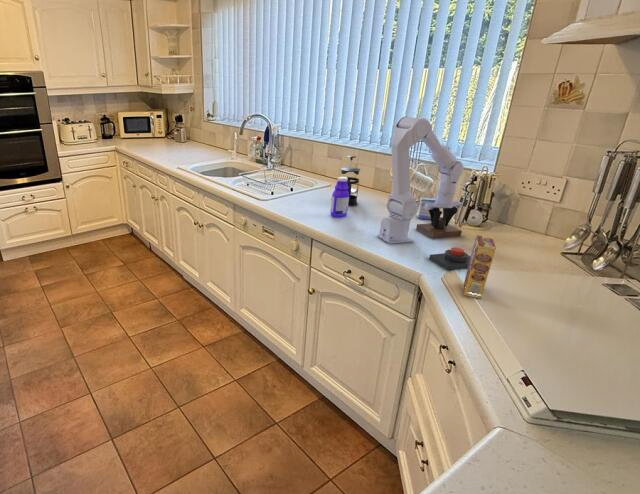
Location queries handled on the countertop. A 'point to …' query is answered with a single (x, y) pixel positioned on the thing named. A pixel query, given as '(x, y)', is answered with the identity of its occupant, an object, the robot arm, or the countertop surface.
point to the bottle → (340, 198)
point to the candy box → (479, 265)
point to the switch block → (451, 260)
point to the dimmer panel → (438, 231)
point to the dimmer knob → (441, 223)
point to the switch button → (457, 251)
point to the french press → (351, 182)
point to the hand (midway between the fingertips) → (439, 226)
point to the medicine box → (423, 212)
